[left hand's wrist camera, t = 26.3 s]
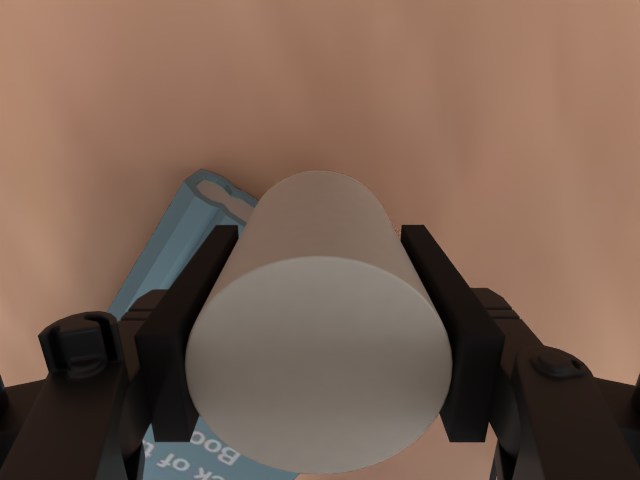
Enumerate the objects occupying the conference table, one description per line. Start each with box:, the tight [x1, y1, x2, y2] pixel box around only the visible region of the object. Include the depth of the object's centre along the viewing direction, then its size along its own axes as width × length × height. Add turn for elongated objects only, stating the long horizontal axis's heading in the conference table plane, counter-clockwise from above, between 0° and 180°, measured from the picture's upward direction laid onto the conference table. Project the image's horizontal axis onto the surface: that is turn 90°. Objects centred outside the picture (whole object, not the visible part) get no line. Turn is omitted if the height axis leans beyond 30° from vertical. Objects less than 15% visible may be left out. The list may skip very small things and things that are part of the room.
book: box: [107, 169, 300, 480], centre depth 27 cm, size 23×16×5 cm
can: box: [185, 170, 453, 474], centre depth 12 cm, size 6×6×8 cm
